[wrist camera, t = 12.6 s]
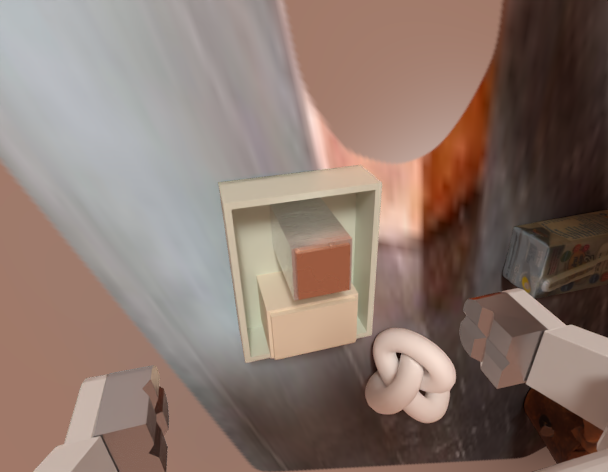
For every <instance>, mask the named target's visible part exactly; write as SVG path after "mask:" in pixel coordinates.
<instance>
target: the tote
mask: <svg viewBox="0 0 608 472" xmlns="http://www.w3.org/2000/svg"><path fill="white" fill-rule="evenodd" d="M218 184H219V191H220V198H221V205H222V212H223V219H224V226H225V233H226V240H227V247H228V254H229V261H230V268H231V275H232V282H233V289H234V296H235V303H236V310H237V317H238V324H239V331H240V336H241V342H242V347H243V352H244V358H245V363H248V362H253V361H257V360H262V359H266V358H271V356H270V352H269V348H268V344H267V340H266V337H265V333H264V329H263V325H262V322H261V315H260V305H259V296H258V287H257V277H256V276H257V275H262V274H268V273H274V272H279V271H282V269H281V266H280V264H279V261H278V259H277V256H276V254H275V251H274V249H273V240H272V228H271V217H270V205H269V204H276V203H283V202H290V201H298V200H305V199H312V198H319V197H320V198H321V199H322V200H323V201H324V203H325V204H326V205H327V207H328V208H329V209H330V211H331V212H332V213H333V214H334V216H335V217H336V218H337V220H338V221H339V222H340V223H341V225H342V226H343V227H344V229H345V230H346V231H347V233H348V234H349V235H350V236H351V238H352V268H351V283H352V284H353V286H354V287H355V289H356V291H357V292H358V312H357V334H356V339H357V338H361V337H366V336H370V335H372V322H373V308H374V294H375V279H376V265H377V250H378V236H379V222H380V207H381V193H382V182H381V181H380V180H378V179H377V178H376V177H375V176H374V175H372V174H371V173H370V172H369V171H368V170H366V169H365V168H364V167H363V166H361V165H356V166H348V167H340V168H332V169H324V170H315V171H307V172H299V173H291V174H283V175H275V176H266V177H258V178H250V179H242V180H234V181H225V182H218Z"/></svg>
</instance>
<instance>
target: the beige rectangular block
mask: <svg viewBox="0 0 608 472" xmlns="http://www.w3.org/2000/svg"><path fill="white" fill-rule="evenodd" d="M256 277H257V287H258V296H259V305H260V315H261V322H262V325H263V329H264V333H265V337H266V340H267V344H268V348H269V352H270V356H271V358H275V360H278V359H282V358H287V357H291V356H296V355H300V354H305V353H309V352H314V351H318V350H323V349H327V348H332V347H336V346H340V345H345V344H349V343H354V342H356V334H357V312H358V292H357V291H356V289H355V287H354V286H353V284H352V283H351V290H347V291H342V292H337V293H332V294H327V295H321V296H316V297H311V298H306V299H301V300H295V301H294V299H293V296H292V294H291V291H290V289H289V286H288V284H287V281H286V279H285V276H284V274H283V271H279V272H274V273H268V274H262V275H257V276H256Z"/></svg>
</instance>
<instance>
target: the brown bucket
mask: <svg viewBox="0 0 608 472" xmlns="http://www.w3.org/2000/svg"><path fill="white" fill-rule="evenodd" d="M524 409H525V412H526V414H527V415H528V417H529V419H530V420H531V422H532V424H533V425H534V427H535V428H536V430H537V432H538V433H539V435H540V436H541V438H542V440H543V441H544V443H545V445H546V446H547V448H548V449H549V451H550V453H551V455H552V456H553V458H554V460H555V461H556V463H557V464H559V463H562V462H565V461H569V460H572V459H575V458H578V457H582V456H585V455H588V454H591V453H594V452H598V451H597V443H598V441H599V439H600V437H601V435H602V433H603V432H604V431H603V430H601V429H600V428H598V427H596V426H595V425H593V424H591V423H590V422H588V421H587V420H585V419H583V418H582V417H580V416H578V415H577V414H575V413H573V412H572V411H570V410H568V409H567V408H565V407H563V406H562V405H560V404H558V403H557V402H555V401H553V400H552V399H550V398H548V397H547V396H545V395H543V394H542V393H540V392H538V391H537V390H535V389H533V388H531V389H530V391H529V392H528V394H527V396H526V399H525V402H524Z"/></svg>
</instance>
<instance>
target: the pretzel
mask: <svg viewBox="0 0 608 472" xmlns="http://www.w3.org/2000/svg"><path fill="white" fill-rule="evenodd" d="M396 352H398V353H401V357H400V362H399V360H398V358H397V356H396ZM373 357H374V361H375V364H376V367H377V369H378V370H377V371H376V372H375V373H374V374H373V375H372V376H371V377H370V378H369V380H368V382H367V385H366V390H365V397H366V400H367V403H368V405H369V406H370V407H371V408H372V409H373V410H374V411H376V412H377V413H380V414H394V413H397V412H399V411H401V410H402V409H403V410H404V411H405V412H406V413H407V414H408V415H409V416H411V417H412V418H414V419H415V420H417V421H420V422H422V423H432V422H435V421H437V420H439V419H440V418H442V417H443V415H444V414H445V412H446V410H447V408H448V403H449V398H450V389H451V388H452V386H453V385H454V384H455V381H456V372H455V368H454V365H453V363H452V362H451V360H450V359H449V357H448V356H447V355H446V354H445V353H444V352H443V351H442V350H441V349H440V348H439V347H438V346H437V345H436V344H434V343H433V342H432V341H430V340H429V339H427V338H426V337H424V336H422V335H420V334H418V333H416V332H413V331H411V330H407V329H404V328H389V329H387V330H385V331H383V332H381V333H379V334H378V336H377V337H376V339H375V341H374V345H373ZM419 390H422V391H425V392H426V394H425V396H423V395H422V394H421V393H420V392H419Z"/></svg>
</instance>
